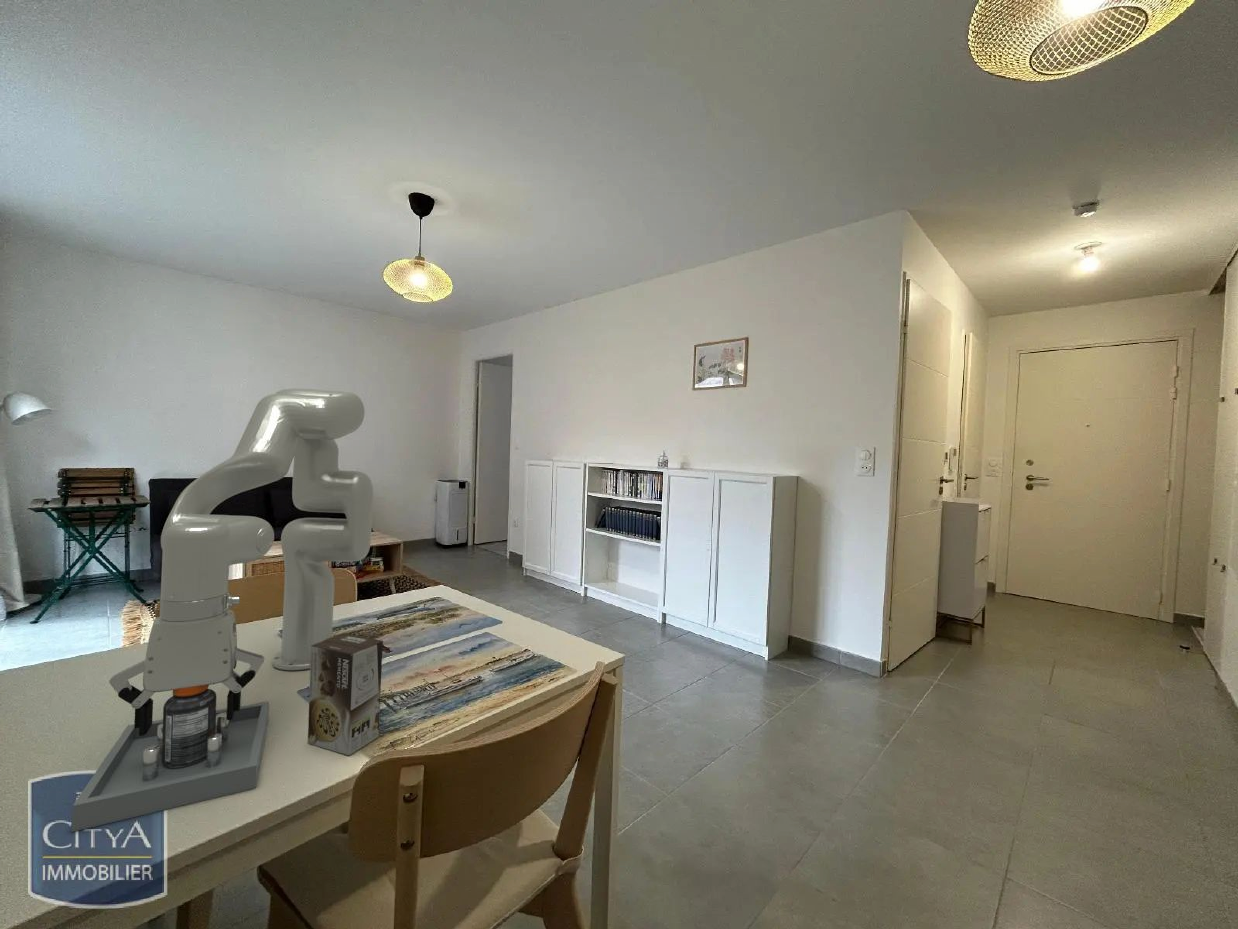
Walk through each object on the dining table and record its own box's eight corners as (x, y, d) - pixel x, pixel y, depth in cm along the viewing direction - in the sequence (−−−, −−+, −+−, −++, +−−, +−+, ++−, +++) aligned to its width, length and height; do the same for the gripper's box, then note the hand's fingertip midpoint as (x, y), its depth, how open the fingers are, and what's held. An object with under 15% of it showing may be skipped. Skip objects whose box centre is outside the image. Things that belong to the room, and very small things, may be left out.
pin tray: (268, 719, 86) (269, 690, 86) (255, 788, 69) (257, 751, 69) (127, 745, 77) (128, 712, 77) (71, 832, 60) (73, 789, 60)
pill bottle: (183, 745, 76) (186, 671, 76) (224, 745, 77) (227, 672, 77) (149, 769, 70) (152, 689, 70) (194, 769, 71) (198, 689, 71)
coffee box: (380, 736, 83) (385, 640, 83) (348, 757, 77) (353, 654, 77) (339, 724, 86) (343, 631, 86) (304, 743, 80) (309, 643, 80)
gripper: (268, 595, 81) (264, 700, 81) (122, 606, 72) (117, 724, 72) (264, 608, 74) (259, 722, 74) (103, 622, 65) (97, 752, 65)
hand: (189, 723), depth 73 cm, fingers open, 9 cm apart
